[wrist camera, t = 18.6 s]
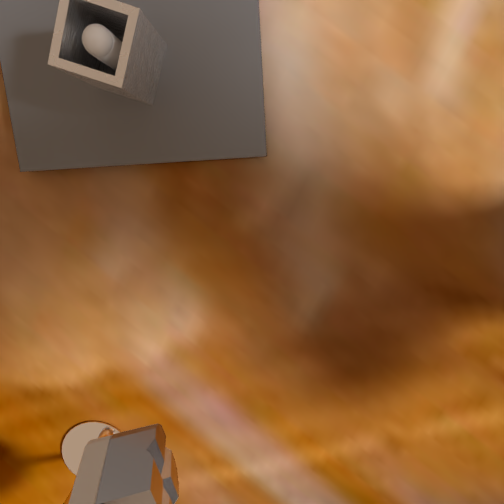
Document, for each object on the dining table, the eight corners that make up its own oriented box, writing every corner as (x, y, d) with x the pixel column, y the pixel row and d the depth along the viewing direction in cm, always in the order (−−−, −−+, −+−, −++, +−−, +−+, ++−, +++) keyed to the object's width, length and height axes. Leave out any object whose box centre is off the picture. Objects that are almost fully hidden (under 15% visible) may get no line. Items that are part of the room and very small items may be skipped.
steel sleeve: (167, 45, 33) (139, 8, 25) (152, 105, 34) (121, 88, 26) (108, 25, 33) (62, -18, 25) (95, 87, 34) (47, 64, 26)
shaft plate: (255, -42, 33) (255, -124, 24) (266, 156, 37) (269, 153, 27) (-5, -22, 34) (-107, -95, 24) (29, 171, 37) (-49, 173, 28)
